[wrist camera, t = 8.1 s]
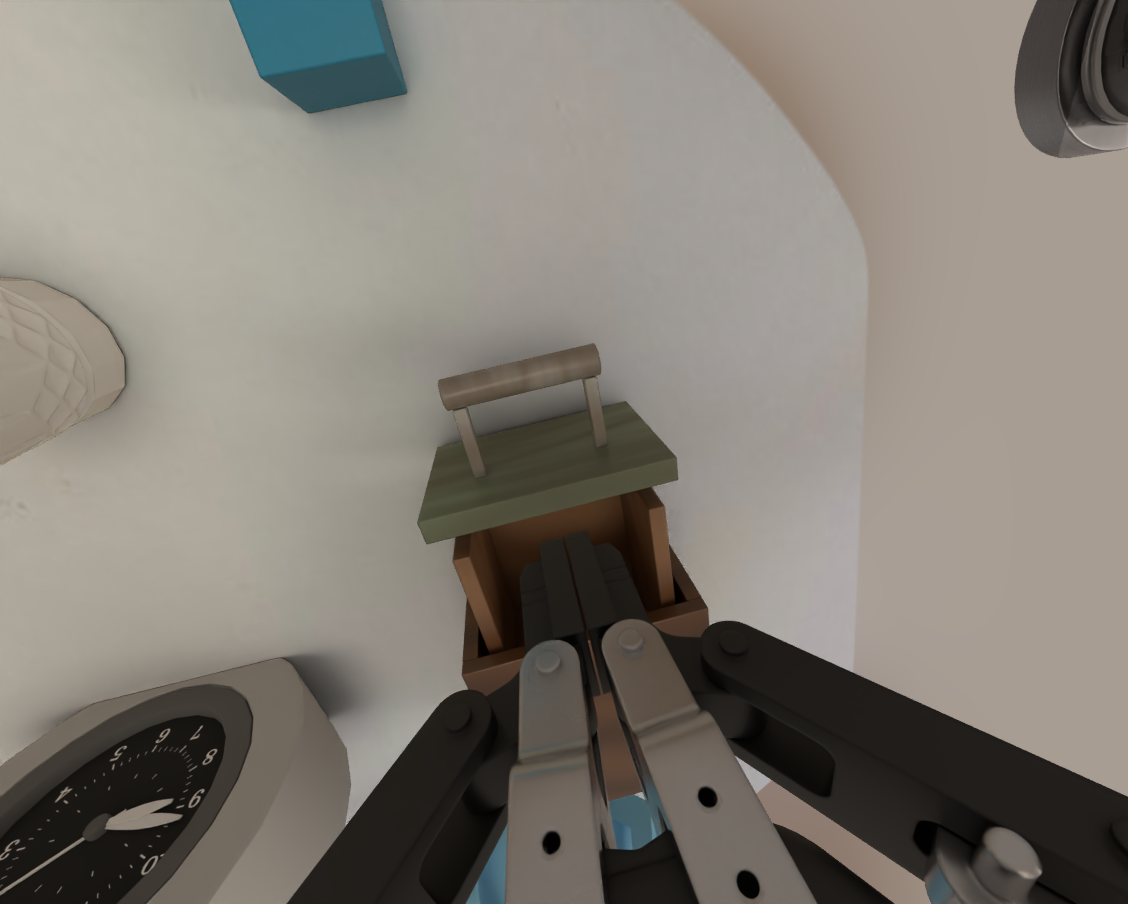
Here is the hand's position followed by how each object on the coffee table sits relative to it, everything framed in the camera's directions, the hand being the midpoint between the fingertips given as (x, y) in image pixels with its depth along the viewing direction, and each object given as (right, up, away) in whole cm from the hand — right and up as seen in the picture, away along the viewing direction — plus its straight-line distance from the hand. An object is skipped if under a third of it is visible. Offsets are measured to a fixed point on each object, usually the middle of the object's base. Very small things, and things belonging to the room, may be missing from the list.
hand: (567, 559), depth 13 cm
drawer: (-1, +1, +14) cm, 14 cm away
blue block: (-10, +20, +5) cm, 23 cm away
